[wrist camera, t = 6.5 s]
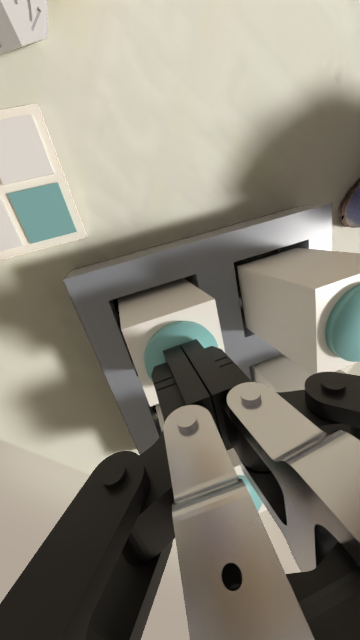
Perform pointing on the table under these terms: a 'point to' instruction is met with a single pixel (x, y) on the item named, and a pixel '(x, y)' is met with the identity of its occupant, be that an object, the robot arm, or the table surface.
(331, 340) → the button near right
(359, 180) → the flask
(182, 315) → the button near left
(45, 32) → the game die
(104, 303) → the button board
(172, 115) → the table surface
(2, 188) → the card
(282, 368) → the button far right
